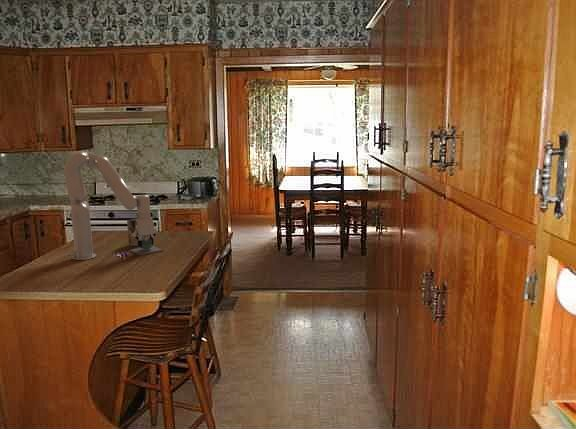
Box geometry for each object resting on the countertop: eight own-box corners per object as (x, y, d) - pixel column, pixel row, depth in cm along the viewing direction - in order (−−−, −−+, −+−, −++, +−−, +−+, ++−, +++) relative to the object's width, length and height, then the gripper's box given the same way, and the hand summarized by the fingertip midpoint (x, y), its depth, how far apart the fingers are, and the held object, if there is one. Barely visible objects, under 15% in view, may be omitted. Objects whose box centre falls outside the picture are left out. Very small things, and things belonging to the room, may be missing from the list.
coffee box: (146, 244, 312) (145, 219, 309) (140, 246, 306) (139, 220, 303) (134, 243, 315) (132, 218, 312) (128, 245, 309) (126, 220, 306)
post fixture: (140, 255, 283) (139, 238, 282) (130, 251, 294) (128, 234, 292) (162, 251, 293) (161, 234, 291) (151, 247, 303) (150, 231, 301)
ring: (143, 249, 288) (142, 241, 287) (138, 247, 293) (137, 239, 292) (153, 247, 292) (153, 239, 291) (148, 245, 297) (148, 238, 296)
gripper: (132, 218, 281) (134, 249, 284) (160, 214, 292) (162, 244, 295) (127, 217, 286) (129, 247, 289) (154, 213, 298) (156, 242, 301)
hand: (145, 245), depth 292 cm, fingers closed on ring, 6 cm apart
